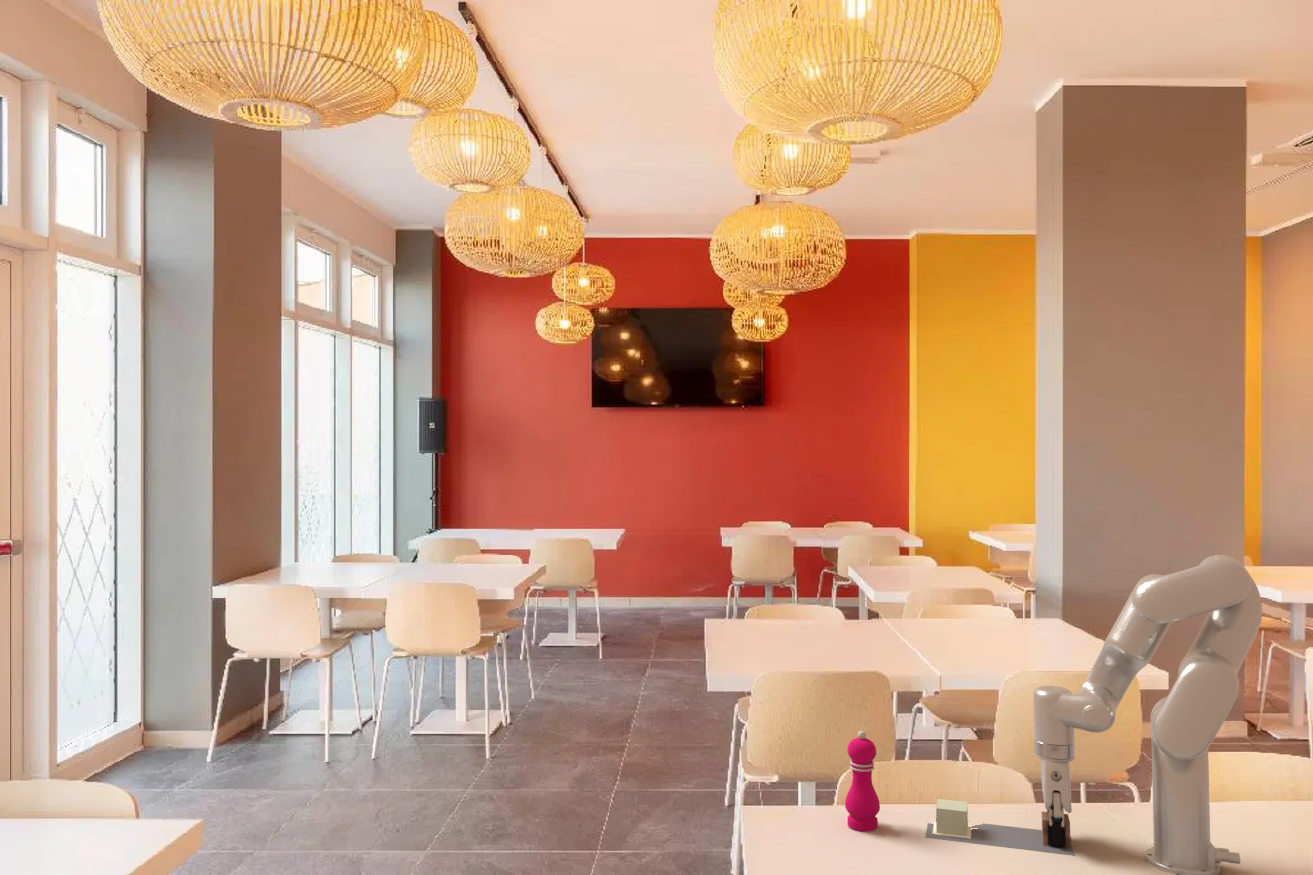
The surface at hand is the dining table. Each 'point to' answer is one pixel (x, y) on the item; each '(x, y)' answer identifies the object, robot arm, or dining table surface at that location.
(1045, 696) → the robot arm
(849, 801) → the pepper mill
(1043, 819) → the walnut cube
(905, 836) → the dining table surface
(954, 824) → the sage block
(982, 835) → the build mat
